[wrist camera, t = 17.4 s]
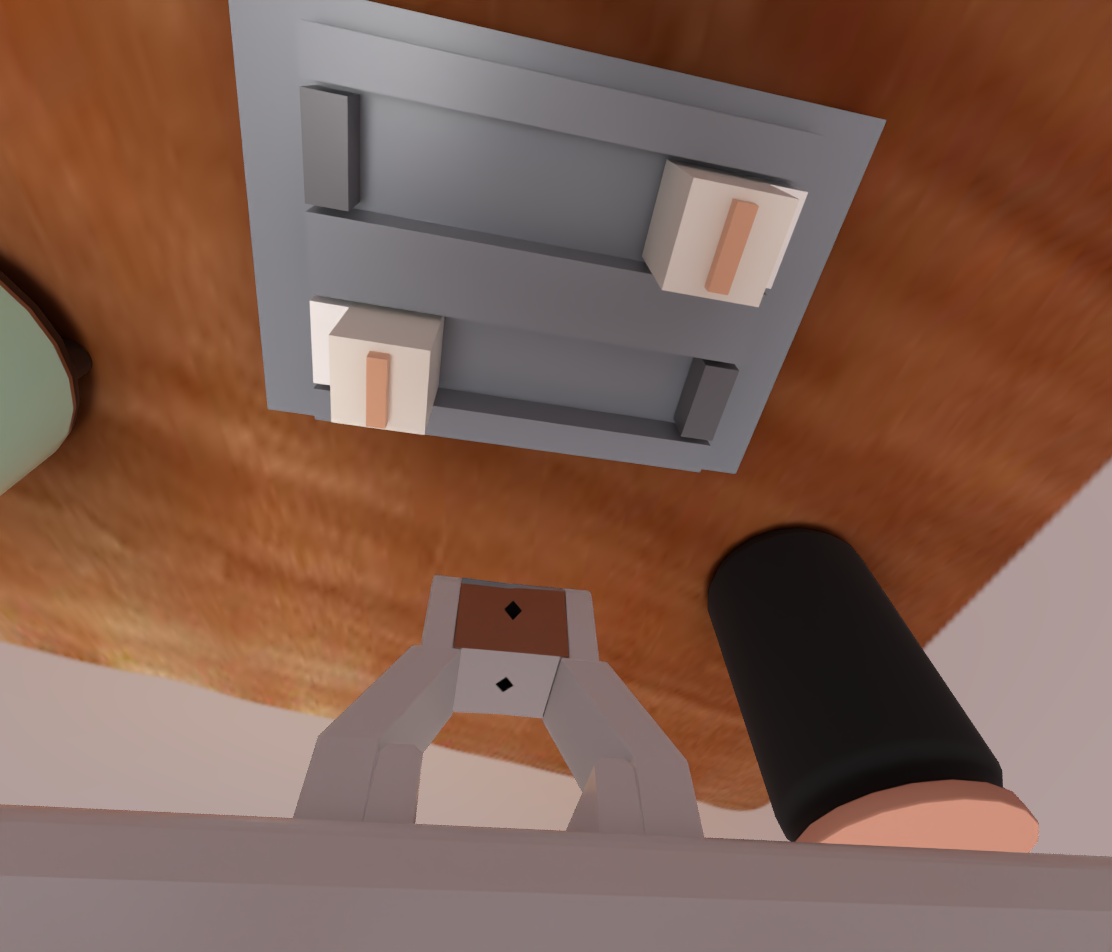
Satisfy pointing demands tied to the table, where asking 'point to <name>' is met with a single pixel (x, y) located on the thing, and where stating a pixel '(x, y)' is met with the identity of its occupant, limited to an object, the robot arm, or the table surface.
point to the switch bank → (520, 224)
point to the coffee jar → (852, 707)
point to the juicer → (33, 385)
